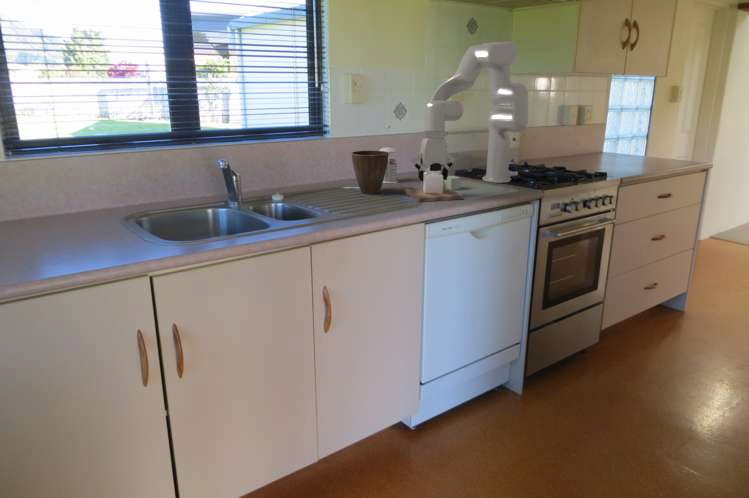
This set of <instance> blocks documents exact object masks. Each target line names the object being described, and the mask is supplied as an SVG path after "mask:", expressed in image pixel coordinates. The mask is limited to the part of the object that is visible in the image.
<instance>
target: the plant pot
mask: <svg viewBox="0 0 749 498" xmlns="http://www.w3.org/2000/svg"><path fill="white" fill-rule="evenodd" d="M389 154H390V153H388V152H385V151H379V150H357V151H352V152H351V160H352V165H353V171H354V175H355V178H356V182H357V184H358V187H359V190H360V192H361V193H362V194H367V195H369V194H370V195H374V194H379V193H380V192H381V189H382V187H383V180H384V177H385V173H386V168H387V162H388V158H389V156H390V155H389Z"/></svg>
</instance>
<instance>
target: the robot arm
mask: <svg viewBox="0 0 749 498" xmlns="http://www.w3.org/2000/svg"><path fill="white" fill-rule="evenodd" d="M518 50H519V49H518V47H517V45H516V43H514V42H513V41H493V42H492V41H491V42H484V43H481V44H476V45H471V46H469V47H468V49H467V50H466V51H465V54H464V55H463V57H462V59H461V61H460V62H459V65H458V67H457V69H456V71H455V73H454V74H453V76H451V77H450V78H448V79H447V80H446V81H444V82H443V83H442V84H441V85H440V86H439V87H438V88H436V90H435V91H434V93H433V95H432V96H431V99H430V101H429V102H427V103H426V104H425V110H424V112H425V114H424V116H425V117H424V138H422V140H421V143H420V151H419V154H418V155H417V156H416V157H414V158H412V159H411V161H412V163H413V166H414V167H415V169H417V170H418V172H417V173H418V175H417V177H418V181H420V182H424V173H425V171H424V169H426V166H430V165H431V164H433V163H440V164H441V165H442V166H441V167H442V169H441V173H442V175H443V181H444V180H447V177H448V176H449V170H450V168H451V167H452V166H453V164H454V162H455V160H456V158H455V157H454V156H452V155H450V154H449V153H448V146H447V139H446V138H445V137H447V136H448V135H449V133H448V131H446V128H445V127H446V122H456V121H458V120H460V119H461V118H462V117H463V115H464V106H463V105H462V104H461V103H460V102H459V101H457V100H449V99H450V98H452V97H453V96H454V95H458V94H460V93H463V92H465V91H467V90H469V89H470V88H472V87H473V86H474V85H475V82H476V81H477V79H478V77H479V75H480V72H481V71H482V69H484V68H485V69H487V72H488V75H489V77H488V78H489V94H490V95H489V96H490V97H489V98H490V102H491V104H492V105H494V106H500V107H504V108H499V107H498V108H494V109H492V110H491V111H490V112H489V114H488V116H487V128H488V142H487V143H488V145H487V156H486V157H487V158H486V172H485V176H482V180H483V181H484V182H487V183H494V184H495V183H497V184H500V183H509V182H511V181H512V178H511V177H517V176H518V175H519V173H518V171H512V170H510V169H509V164H510V151H511V138H510V135H509V133H521V132H524V131H525V130H526V129H527V127H528V123H529V91H528V88H527V87H526V85H525V84H523V83H519V82H511V81H512V80H511V72H510V71H511V70H510V67H509V65H511V64H513V63H514V62H515V61H516V59H517V57H518V54H519V53H518V52H519V51H518ZM505 107H511V108H505ZM508 132H509V133H508ZM448 159H449V160H448ZM418 161H419V163H418ZM448 161H449V162H448ZM510 180H511V181H510Z"/></svg>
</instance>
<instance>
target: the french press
mask: <svg viewBox="0 0 749 498" xmlns="http://www.w3.org/2000/svg"><path fill="white" fill-rule="evenodd" d="M385 128H387V129H389V128H391V125H390V124H386V125H385ZM378 151H385V152H388V153H389V154H393V153H397V152H398V150H397V149H396V148H394V147H389V146H387V147H382V148H380V149H378ZM396 161H397V160H396V159H394V158H390V157H388V162H387V168H386V173H385V177H384V180H383V183H394V184H397V183H399V180H397V178H398V177H397V170H398V169H397V168H398V165H397V162H396Z"/></svg>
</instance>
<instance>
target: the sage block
mask: <svg viewBox="0 0 749 498" xmlns="http://www.w3.org/2000/svg"><path fill="white" fill-rule="evenodd" d="M461 181H462V177H460V176H456V175H448V177H447V180H444V179H443V187H447V188H449V189H451V190H453V191H457V190H458V189H459V190H461V186H462V185H461V184H462V183H461Z"/></svg>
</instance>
